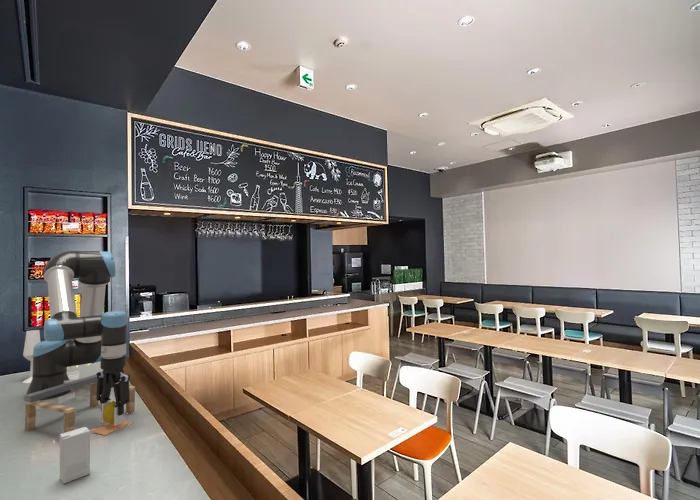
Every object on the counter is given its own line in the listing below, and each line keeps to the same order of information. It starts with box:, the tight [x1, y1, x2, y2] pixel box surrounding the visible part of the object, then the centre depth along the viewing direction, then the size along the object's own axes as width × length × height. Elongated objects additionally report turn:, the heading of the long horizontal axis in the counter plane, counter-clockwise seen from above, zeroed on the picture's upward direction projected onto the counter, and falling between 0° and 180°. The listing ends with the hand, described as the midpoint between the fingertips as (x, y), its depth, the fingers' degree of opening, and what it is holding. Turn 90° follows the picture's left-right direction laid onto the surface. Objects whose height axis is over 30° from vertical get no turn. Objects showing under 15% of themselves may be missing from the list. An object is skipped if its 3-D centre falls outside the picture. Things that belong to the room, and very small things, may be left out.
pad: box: [90, 419, 133, 436], centre depth 127 cm, size 7×10×1 cm
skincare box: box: [59, 426, 91, 484], centre depth 99 cm, size 6×4×12 cm
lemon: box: [103, 400, 116, 424], centre depth 128 cm, size 6×6×8 cm
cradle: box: [24, 382, 136, 433], centre depth 133 cm, size 22×24×10 cm
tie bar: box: [24, 373, 97, 403], centre depth 136 cm, size 3×25×3 cm, turn 160°
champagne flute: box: [22, 329, 41, 384], centre depth 176 cm, size 7×7×24 cm
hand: (112, 422), depth 127 cm, fingers closed on lemon, 5 cm apart
